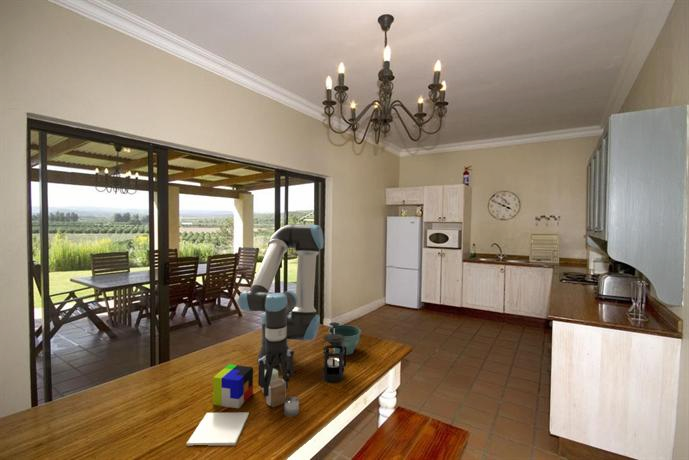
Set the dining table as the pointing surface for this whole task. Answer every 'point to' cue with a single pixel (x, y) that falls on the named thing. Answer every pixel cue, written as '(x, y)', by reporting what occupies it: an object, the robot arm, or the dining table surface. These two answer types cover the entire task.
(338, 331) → the flower pot
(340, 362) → the french press
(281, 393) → the walnut block
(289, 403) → the grey tin
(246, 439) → the dining table surface
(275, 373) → the pale green egg
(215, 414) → the plate
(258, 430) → the dining table surface
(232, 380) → the puzzle toy
